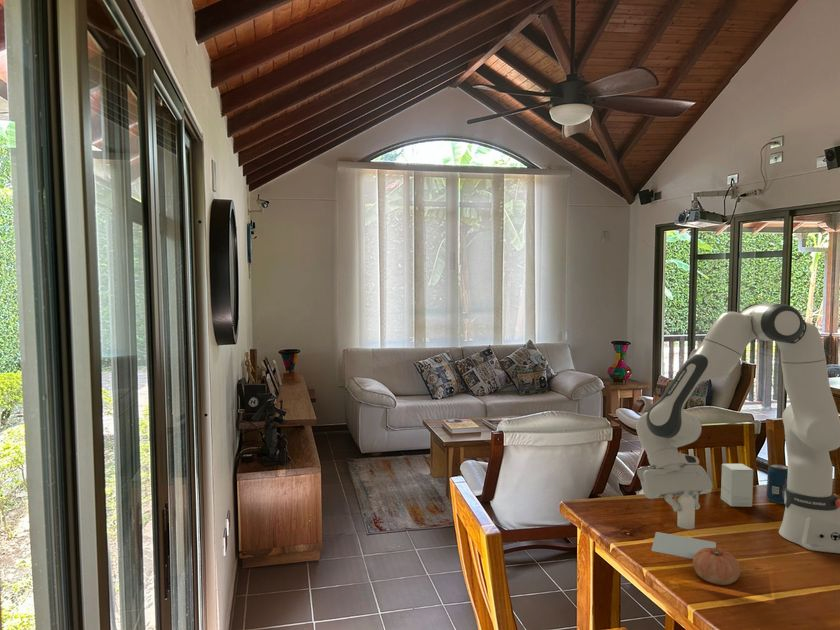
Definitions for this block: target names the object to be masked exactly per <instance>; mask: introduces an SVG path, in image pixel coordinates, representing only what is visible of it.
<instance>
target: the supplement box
mask: <svg viewBox="0 0 840 630" xmlns="http://www.w3.org/2000/svg"><path fill="white" fill-rule="evenodd" d="M720 486H721V487H720V499H721V500H722V501H723V502H724V503H726V504H727V505H729V506H730V507H743V508H744V507H753V495H754V493H753V491H754V490H753V489H754V469H752V468H751V467H749V466H747V465H746V464H744V463H722V464H721V485H720Z"/></svg>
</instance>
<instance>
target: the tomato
mask: <svg viewBox="0 0 840 630" xmlns="http://www.w3.org/2000/svg"><path fill="white" fill-rule="evenodd" d="M692 566H693V568H694V571H695V573H696V574H697V575H698V577H700V578H701V579H702V580H704V581H706V582H708V583H710V584H714V585H719V586H721V585H722V586H726V585H731V584H733V583H735V582H736V581H737V580H738V579H739V577H740V575H741V565H740V562H739V561H738V560H737V558H736V557H735V556H734V555H733V554H732V553H730V552H729V551H726V550H723V549H721V548H717V547H716V548H703V549H701V550H700V551H698V552H697V553H696V554H695V556H694V558H693V559H692Z"/></svg>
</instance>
